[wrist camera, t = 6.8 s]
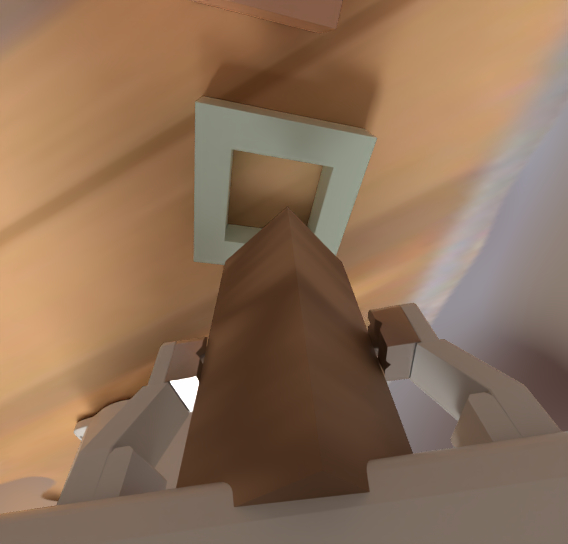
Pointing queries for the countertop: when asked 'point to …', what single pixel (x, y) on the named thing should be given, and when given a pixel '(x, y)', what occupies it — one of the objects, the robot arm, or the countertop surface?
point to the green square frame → (277, 143)
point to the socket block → (287, 11)
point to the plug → (288, 378)
